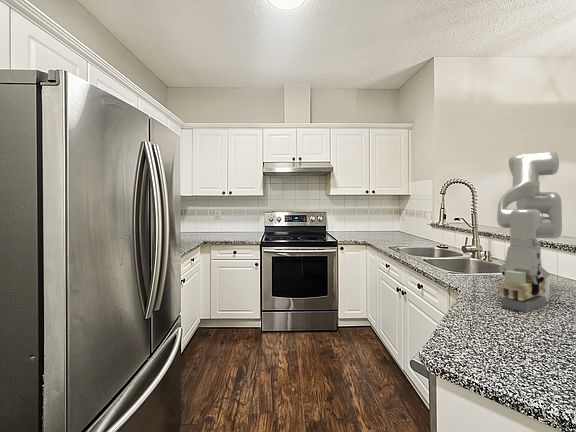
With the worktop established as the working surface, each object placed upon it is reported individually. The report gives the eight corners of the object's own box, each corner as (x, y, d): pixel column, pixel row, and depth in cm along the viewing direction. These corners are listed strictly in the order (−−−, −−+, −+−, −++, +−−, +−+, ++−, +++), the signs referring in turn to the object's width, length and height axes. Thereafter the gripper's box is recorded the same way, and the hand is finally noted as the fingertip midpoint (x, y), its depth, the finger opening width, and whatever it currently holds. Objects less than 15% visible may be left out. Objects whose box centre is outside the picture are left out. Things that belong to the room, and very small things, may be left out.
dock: (521, 299, 125) (521, 292, 125) (546, 304, 119) (546, 296, 119) (501, 306, 118) (501, 298, 118) (526, 312, 111) (526, 303, 111)
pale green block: (510, 280, 118) (510, 270, 118) (525, 283, 114) (525, 272, 114) (504, 282, 116) (504, 271, 116) (520, 285, 112) (520, 273, 111)
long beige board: (523, 288, 125) (523, 276, 125) (545, 292, 119) (545, 279, 119) (499, 296, 116) (499, 282, 116) (522, 300, 110) (521, 286, 110)
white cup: (546, 297, 128) (547, 272, 128) (553, 303, 121) (553, 276, 121) (522, 295, 131) (522, 271, 131) (527, 300, 124) (527, 275, 124)
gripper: (556, 245, 112) (556, 296, 112) (502, 241, 127) (502, 286, 127) (547, 246, 108) (546, 299, 108) (492, 242, 123) (492, 288, 123)
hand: (522, 291), depth 118 cm, fingers closed on long beige board, 7 cm apart
